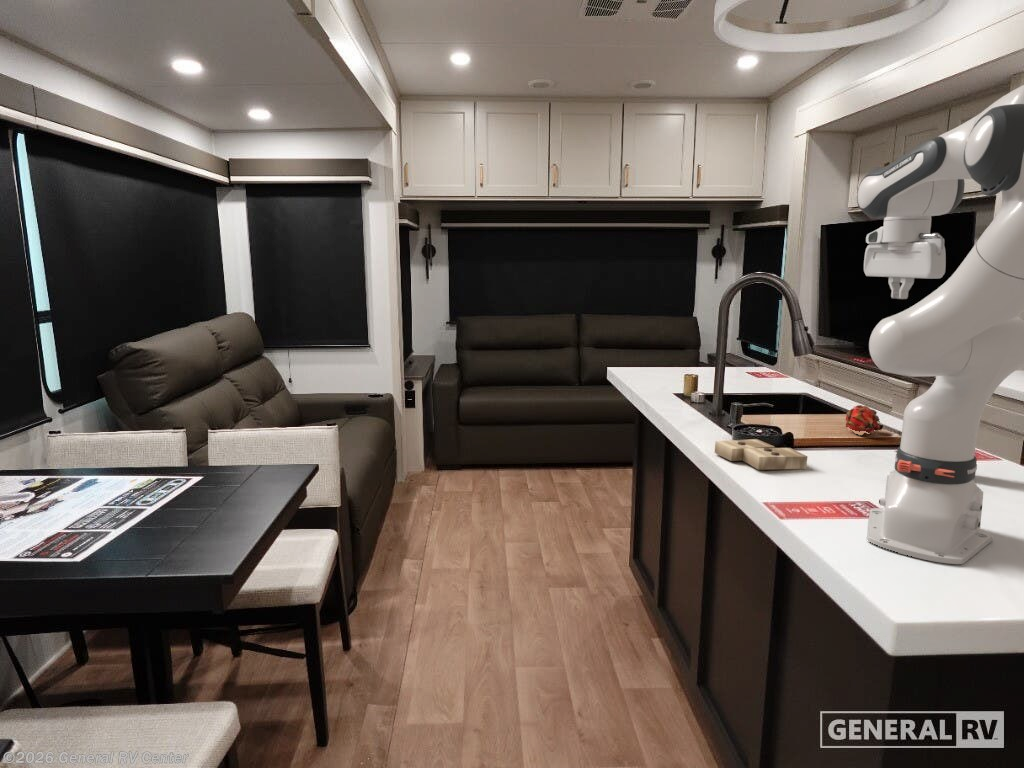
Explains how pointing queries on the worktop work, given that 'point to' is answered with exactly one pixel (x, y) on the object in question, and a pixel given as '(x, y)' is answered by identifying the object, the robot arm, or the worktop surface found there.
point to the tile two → (774, 458)
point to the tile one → (737, 448)
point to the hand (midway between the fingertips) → (899, 298)
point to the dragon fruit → (863, 419)
